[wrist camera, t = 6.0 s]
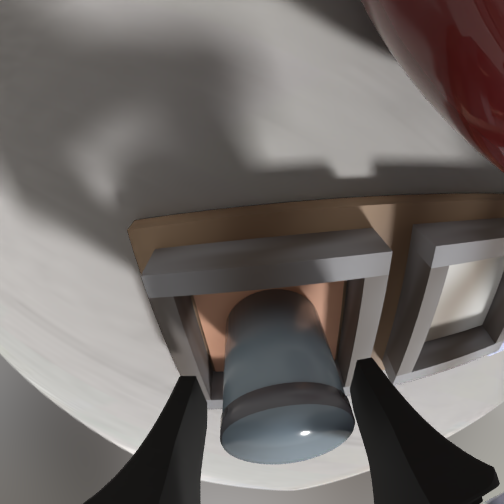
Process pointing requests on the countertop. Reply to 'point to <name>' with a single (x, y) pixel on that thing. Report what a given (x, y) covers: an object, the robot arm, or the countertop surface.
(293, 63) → the countertop surface
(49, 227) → the countertop surface
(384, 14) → the round-bottom flask
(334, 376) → the grey plastic cylinder
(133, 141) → the countertop surface
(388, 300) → the caddy
